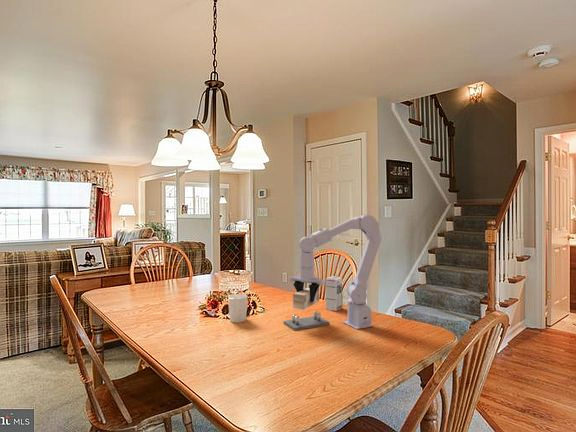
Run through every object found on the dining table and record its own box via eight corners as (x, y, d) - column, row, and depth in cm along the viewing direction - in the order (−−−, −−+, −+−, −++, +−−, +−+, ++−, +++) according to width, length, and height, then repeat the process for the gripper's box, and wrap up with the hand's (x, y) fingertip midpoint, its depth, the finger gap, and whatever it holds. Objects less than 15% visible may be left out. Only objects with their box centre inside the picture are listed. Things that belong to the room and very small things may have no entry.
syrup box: (336, 311, 164) (336, 279, 163) (325, 309, 167) (325, 277, 167) (342, 308, 168) (342, 277, 168) (331, 306, 172) (331, 275, 172)
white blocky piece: (303, 309, 139) (303, 295, 139) (293, 308, 141) (293, 293, 141) (318, 301, 151) (319, 288, 151) (309, 299, 153) (309, 286, 153)
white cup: (224, 321, 150) (224, 297, 149) (235, 316, 157) (235, 293, 156) (240, 324, 146) (240, 299, 146) (251, 318, 153) (251, 295, 153)
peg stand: (317, 318, 154) (317, 308, 154) (329, 324, 146) (329, 314, 146) (283, 323, 147) (283, 313, 147) (294, 330, 139) (294, 320, 139)
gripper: (327, 267, 146) (327, 300, 146) (295, 264, 153) (295, 296, 153) (320, 269, 139) (319, 305, 140) (287, 266, 147) (287, 300, 147)
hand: (306, 300), depth 146 cm, fingers closed on white blocky piece, 4 cm apart
